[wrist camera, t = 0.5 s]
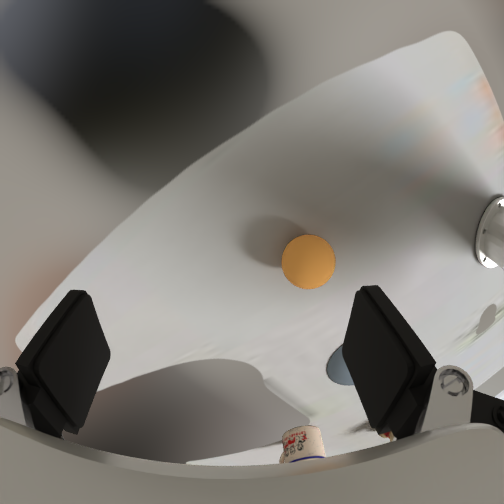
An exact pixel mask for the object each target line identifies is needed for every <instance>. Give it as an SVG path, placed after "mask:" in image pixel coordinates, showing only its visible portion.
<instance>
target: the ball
mask: <svg viewBox="0 0 504 504" xmlns="http://www.w3.org/2000/svg"><path fill="white" fill-rule="evenodd" d="M282 269H283V272H284V274H285V276H286V278H287V279H288V280H289V281H290V282H291V283H292V284H294V285H295V286H297V287H300V288H303V289H314V288H317V287H320V286H322V285H323V284H325V283H326V282H327V281H328V280H329V279H330V278H331V276H332V274H333V272H334V269H335V255H334V252H333V249H332V248H331V246H330V245H329V244H328V242H327V241H325V240H324V239H322V238H321V237H318V236H315V235H302V236H299V237H297V238H295V239H293V240H292V241H291V242H290V243H289V244H288V245H287V246H286V248H285V250H284V252H283V255H282Z"/></svg>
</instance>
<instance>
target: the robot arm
mask: <svg viewBox="0 0 504 504" xmlns="http://www.w3.org/2000/svg"><path fill="white" fill-rule="evenodd" d="M476 254H477V258H478V260H479V262H480V263H481V264H482V265H484V266H485V267H487V268H493V267H496V266H497V265H498V266H500V267H501V268H502V269H504V197H499V198H497V199H495V200H494V201H493V202H492V203H491V204H490V205H489V206H488V207H487V209H486V210H485V212H484V214H483V216H482V218H481V221H480V223H479V227H478V230H477V236H476ZM342 356H343V359H344V361H345V363H346V366H347V368H348V370H349V373H350V375H351V378H352V380H353V383H354V385H355V387H356V390H357V392H358V395H359V397H360V400H361V402H362V405H363V407H364V410H365V412H366V415H367V418H368V420H369V423H370V425H371V427H372V428H376V430H377V433H378V435H380V434H384V433H387V432H390V431H392V434H393V436H394V438H393V441H392V442H389V443H386V444H382V445H379V446H375V447H371V448H367V449H363V450H359V451H354V452H350V453H346V454H341V455H336V456H331V457H326V458H320V459H314V460H307V461H300V462H291V463H282V464H270V465H253V466H204V465H187V464H176V463H166V462H158V461H151V460H145V459H138V458H133V457H127V456H122V455H117V454H113V453H108V452H104V451H100V450H96V449H92V448H89V447H85V446H82V445H78V444H75V443H72V442H69V441H66V440H64V438H63V436H62V431H63V429H64V430H65V431H67V432H70V433H73V434H78V431H79V428H81V427H83V425H84V423H85V420H86V417H87V415H88V412H89V409H90V407H91V404H92V401H93V399H94V396H95V394H96V391H97V389H98V386H99V384H100V381H101V379H102V376H103V374H104V372H105V369H106V367H107V365H108V362H109V360H110V349H109V346H108V344H107V341H106V339H105V336H104V333H103V331H102V328H101V325H100V322H99V320H98V317H97V314H96V311H95V308H94V305H93V302H92V298H91V296H90V295H88V294H87V292H86V291H84V290H70V291H69V292H68V293H67V295H66V296H65V297H64V298H63V299H62V301H61V302H60V303H59V304H58V306H57V307H56V308H55V309H54V311H53V312H52V313H51V314H50V316H49V317H48V318H47V320H46V321H45V322H44V323H43V325H42V326H41V327H40V329H39V330H38V331H37V333H36V334H35V336H34V337H33V338H32V340H31V341H30V342H29V344H28V345H27V347H26V348H25V350H24V351H23V352H22V354H21V355H20V357H19V358H18V360H17V362H16V363H15V364H16V365H17V367H18V369H19V371H18V373H16V371H15V370H14V369H13V368H11V367H2V368H0V504H504V400H501V399H498V398H495V397H492V396H489V395H486V394H483V393H480V392H478V391H475V390H473V382H472V380H471V377H470V376H469V375H468V374H467V372H465V371H464V370H463V369H461V368H459V367H457V366H452V365H447V366H443V367H441V368H439V369H438V370H437V368H436V367H435V364H436V361H435V360H434V359H433V357H432V356H431V354H430V353H429V351H428V350H427V349H426V347H425V346H424V344H423V343H422V342H421V340H420V339H419V338H418V336H417V335H416V333H415V332H414V331H413V329H412V328H411V327H410V325H409V324H408V323H407V321H406V320H405V319H404V318H403V316H402V315H401V314H400V312H399V311H398V310H397V308H396V307H395V306H394V305H393V303H392V302H391V301H390V300H389V298H388V297H387V296H386V295H385V293H384V292H383V291H382V290H381V288H380V287H379V286H378V285H372V286H362V287H361V289H360V291H357V292H356V294H355V298H354V302H353V307H352V311H351V315H350V319H349V323H348V327H347V331H346V335H345V339H344V343H343V346H342Z"/></svg>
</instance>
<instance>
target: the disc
mask: <svg viewBox="0 0 504 504" xmlns="http://www.w3.org/2000/svg"><path fill="white" fill-rule="evenodd" d="M342 346H343V345H342ZM342 346H341V347H340V348H339V349H338V350H337V351H336V352H335V353H334V354H333V355H332V357H331V359H330V361H329V363H328V367H327V372H328V375H329V377H330V379H331V380H332V381H334V382H335V383H337V384H341V385H354V383H353V380H352V378H351V375H350V373H349V370H348V368H347V366H346V363H345V361H344V359H343V356H342Z"/></svg>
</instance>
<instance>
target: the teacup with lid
mask: <svg viewBox="0 0 504 504" xmlns="http://www.w3.org/2000/svg"><path fill="white" fill-rule="evenodd" d="M282 440H283V449H284V452H283V453H282V454H281V457H280V461H279V463H280V464H282V463H284V460H285V463H291V462H300V461H307V460H314V459H320V458H326V456H325V451H324V446H323V441H322V437H321V432H320V430H319V428H317V427H314V426H300V427H296V428H293V429H290V430H288V431H287V432H285V433H284V435H283V436H282Z"/></svg>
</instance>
